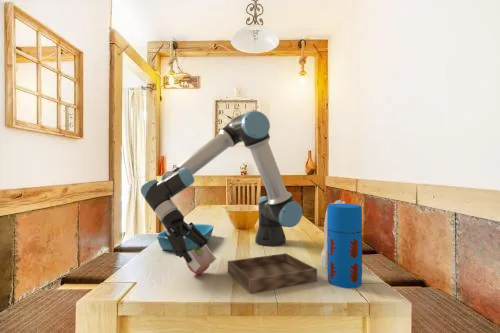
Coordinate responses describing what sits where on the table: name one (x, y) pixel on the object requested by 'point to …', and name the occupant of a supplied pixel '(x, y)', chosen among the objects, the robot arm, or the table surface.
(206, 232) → the casserole dish
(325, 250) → the decorative vase
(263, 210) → the robot arm
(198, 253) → the decorative fruit
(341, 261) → the thermos
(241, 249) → the table surface
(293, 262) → the walnut tray
